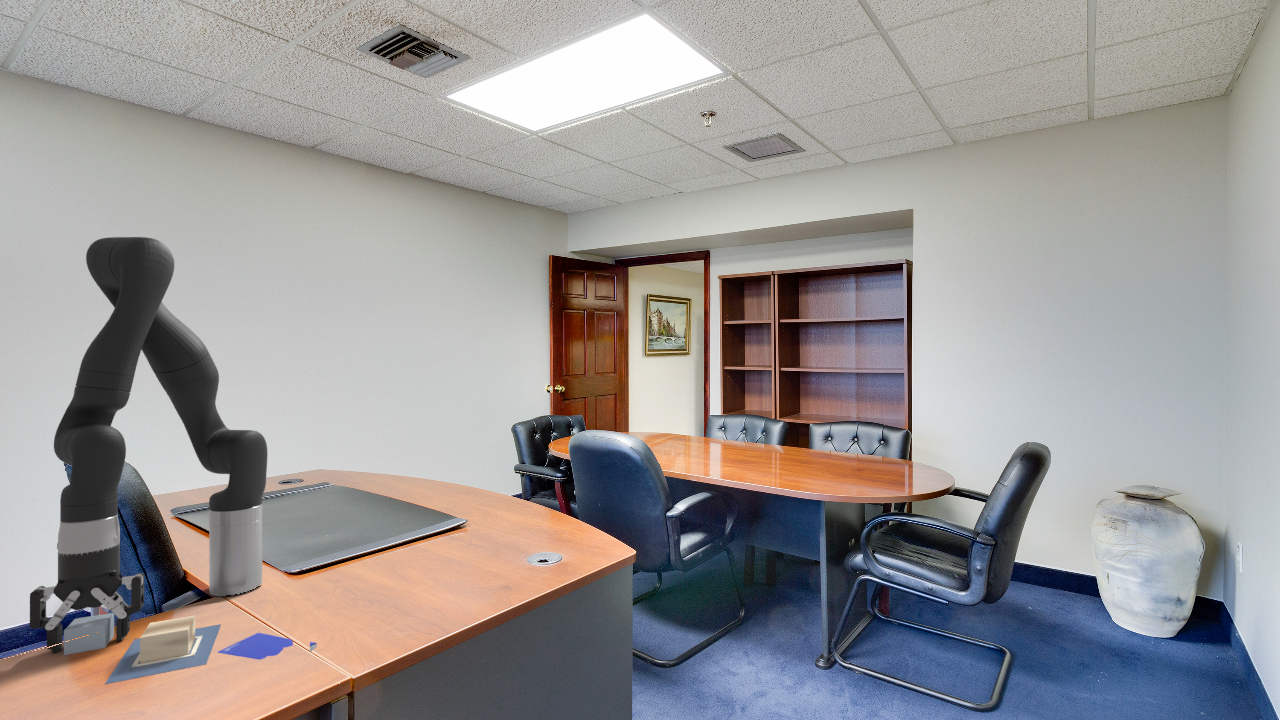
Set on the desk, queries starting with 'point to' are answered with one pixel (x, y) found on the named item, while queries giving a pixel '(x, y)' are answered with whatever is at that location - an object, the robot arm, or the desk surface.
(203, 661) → the board
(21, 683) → the desk surface
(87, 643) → the slate block
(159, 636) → the maple base block
